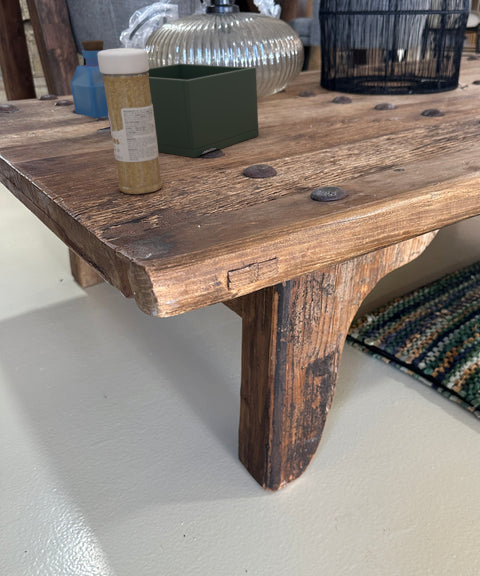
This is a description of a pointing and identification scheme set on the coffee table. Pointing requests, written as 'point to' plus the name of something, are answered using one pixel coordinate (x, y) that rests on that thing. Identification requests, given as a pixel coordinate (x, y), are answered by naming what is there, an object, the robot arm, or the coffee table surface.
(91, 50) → the perfume bottle
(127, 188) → the sprinkles bottle
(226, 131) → the square planter pot
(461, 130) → the coffee table surface
